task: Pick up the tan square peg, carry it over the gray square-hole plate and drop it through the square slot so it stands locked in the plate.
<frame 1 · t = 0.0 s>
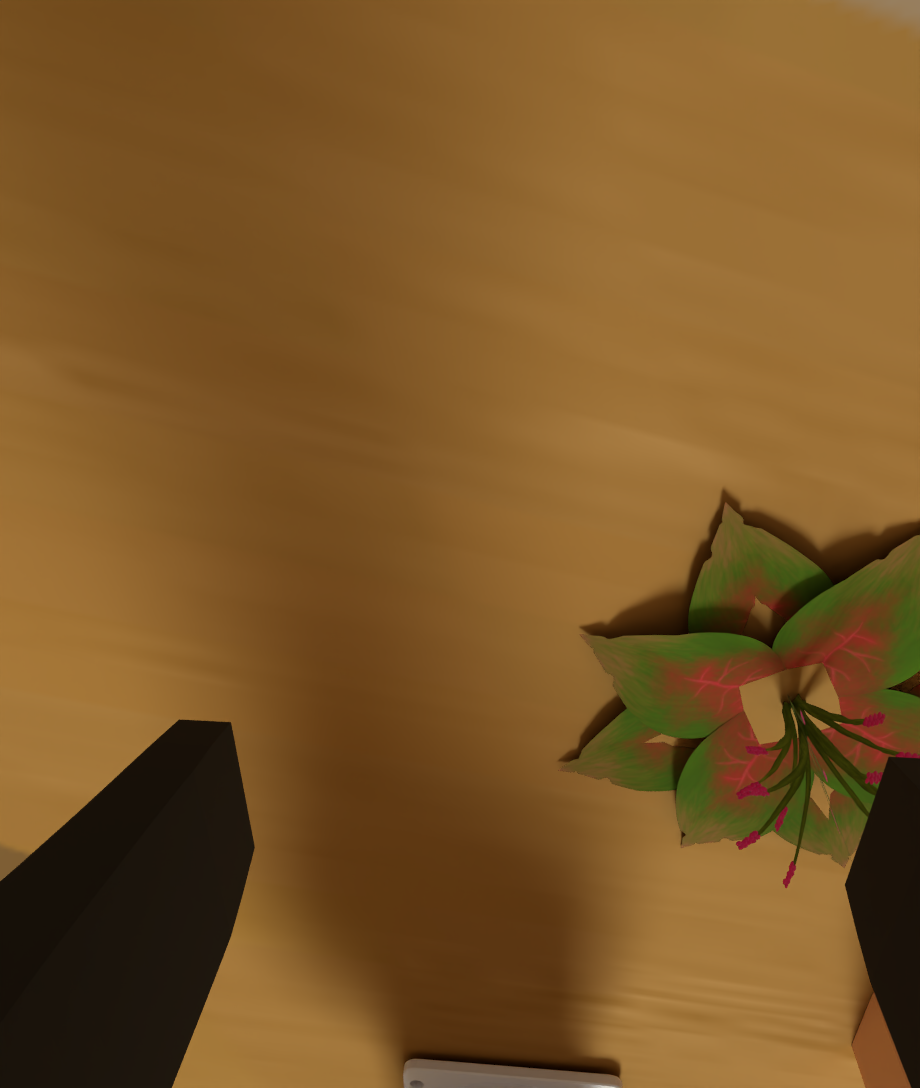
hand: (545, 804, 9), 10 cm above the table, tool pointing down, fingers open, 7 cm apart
lily flower: (783, 687, 21), on the table
tan square peg: (908, 1023, 27), on the table
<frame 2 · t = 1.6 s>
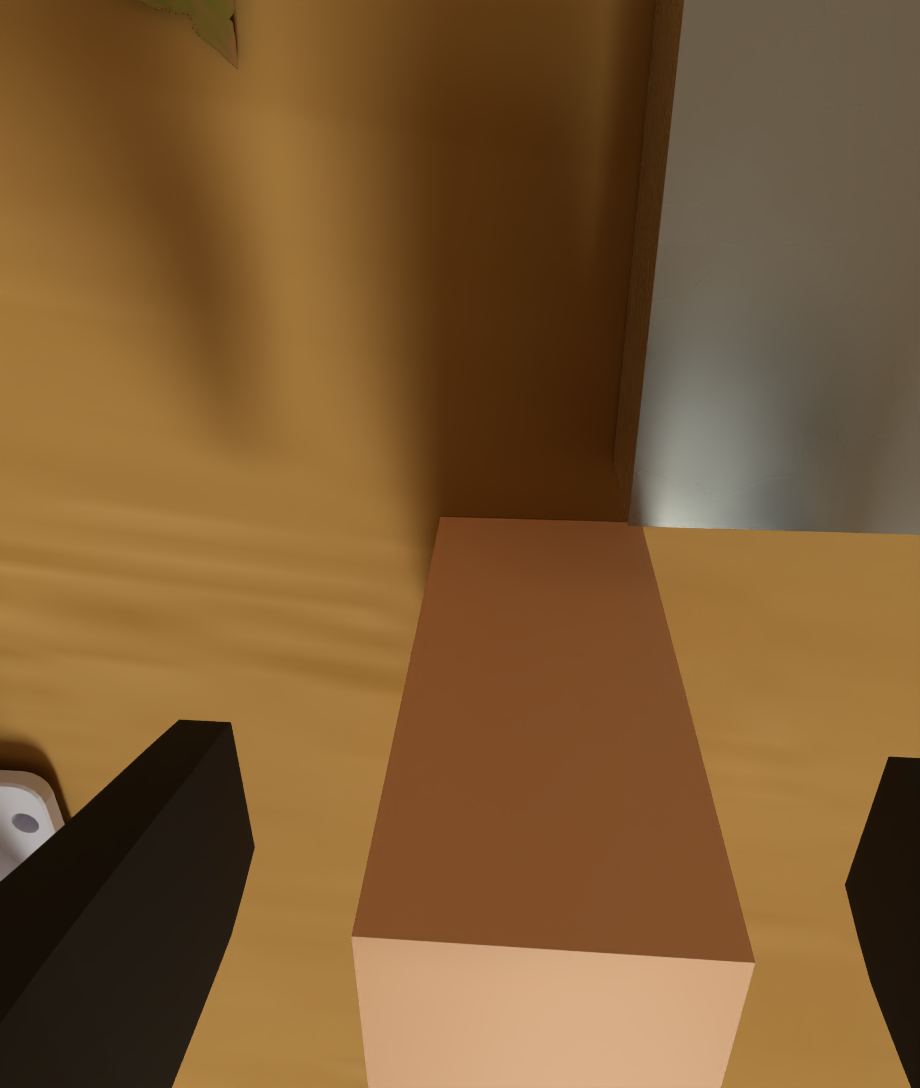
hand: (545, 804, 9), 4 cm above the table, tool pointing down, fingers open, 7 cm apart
tan square peg: (535, 603, 13), on the table
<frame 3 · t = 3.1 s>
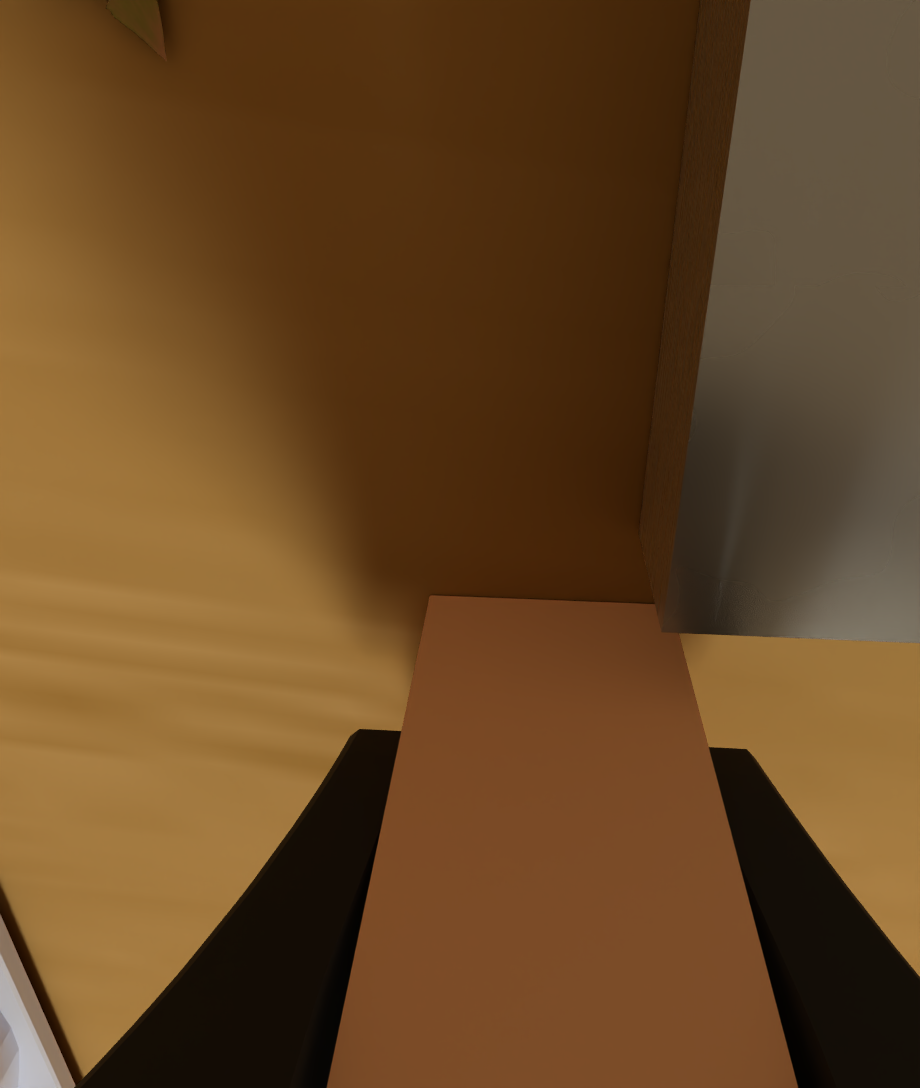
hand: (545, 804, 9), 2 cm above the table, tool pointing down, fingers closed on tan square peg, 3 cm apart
tan square peg: (543, 693, 11), on the table, touching gripper
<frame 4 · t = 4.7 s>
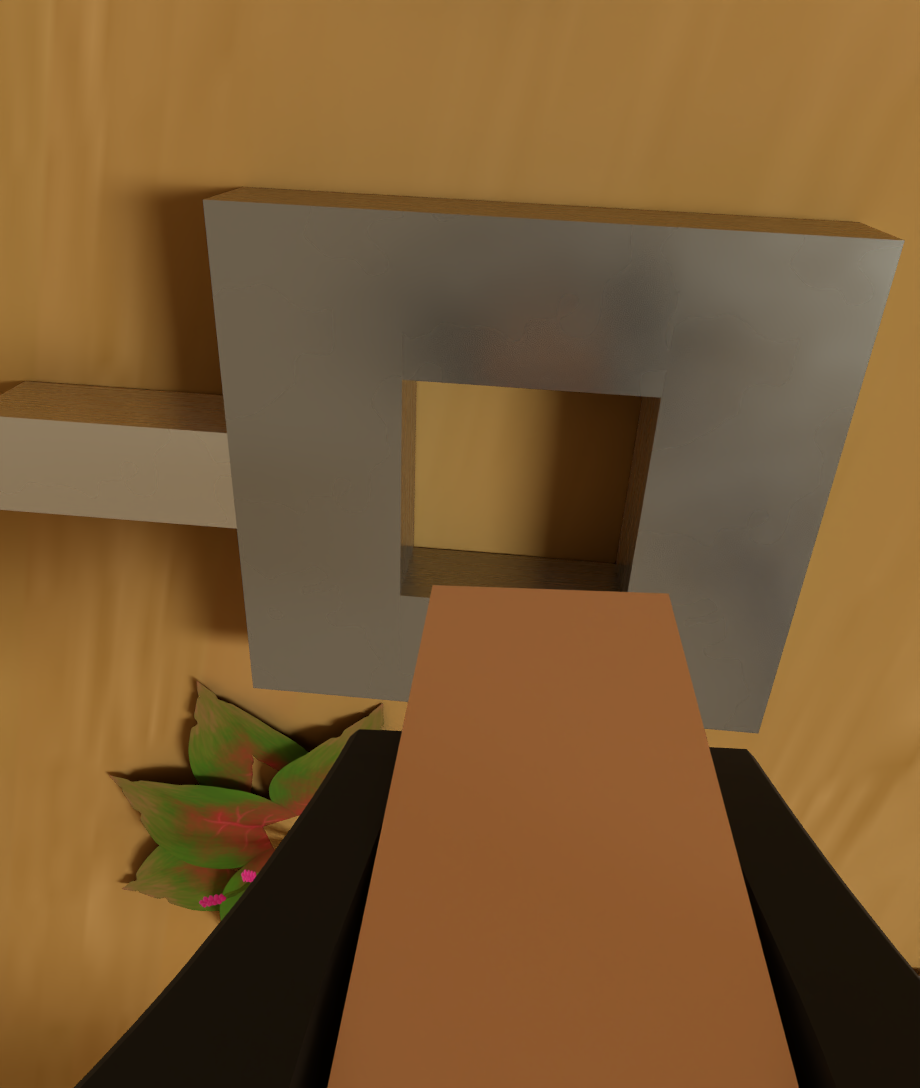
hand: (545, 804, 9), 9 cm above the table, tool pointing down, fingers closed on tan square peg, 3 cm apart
gray square-hole plate: (522, 462, 17), on the table
lily flower: (314, 824, 24), on the table
tan square peg: (544, 681, 11), point 7 cm above the table, touching gripper
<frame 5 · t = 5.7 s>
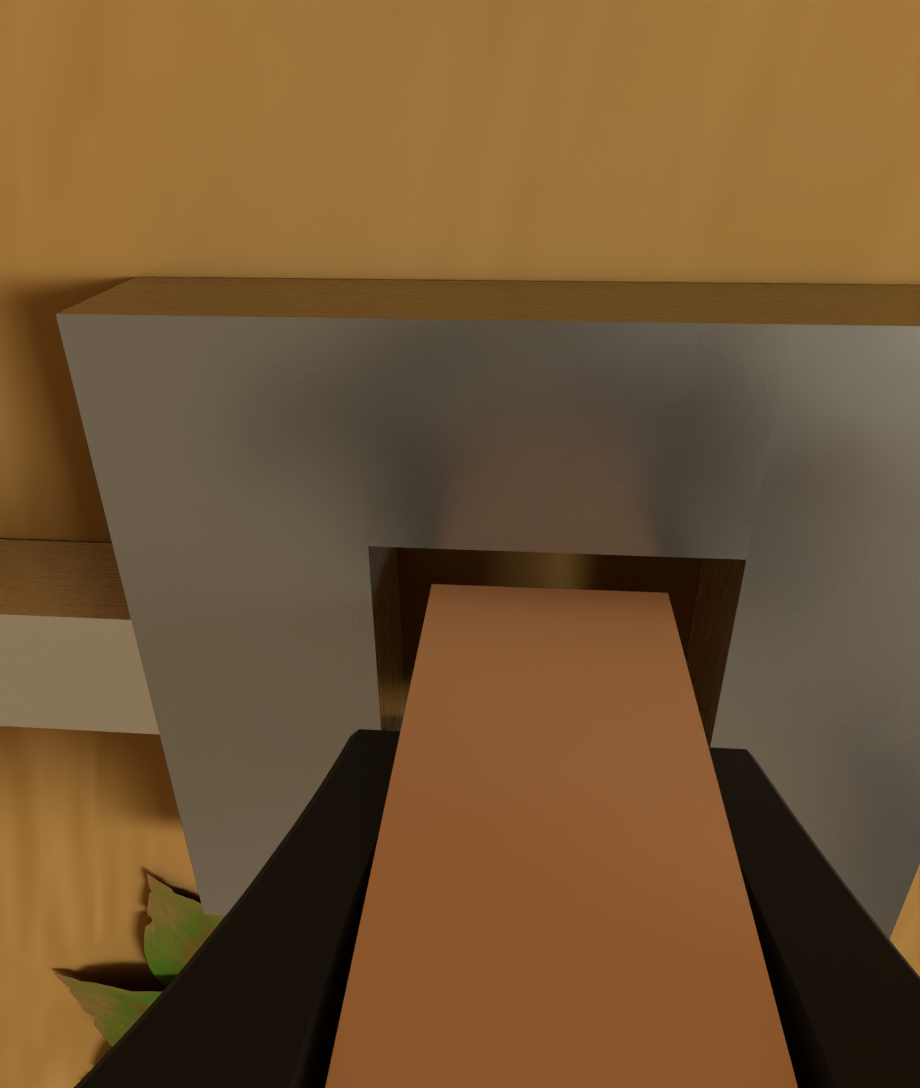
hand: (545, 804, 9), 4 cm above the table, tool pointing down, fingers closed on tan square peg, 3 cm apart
gray square-hole plate: (544, 614, 13), on the table
lily flower: (309, 1012, 20), on the table
tan square peg: (543, 681, 11), point 2 cm above the table, touching gripper
when the fingers open (3 cm above the table, at t = 6.6 s): tan square peg drops 1 cm, resting in gray square-hole plate.
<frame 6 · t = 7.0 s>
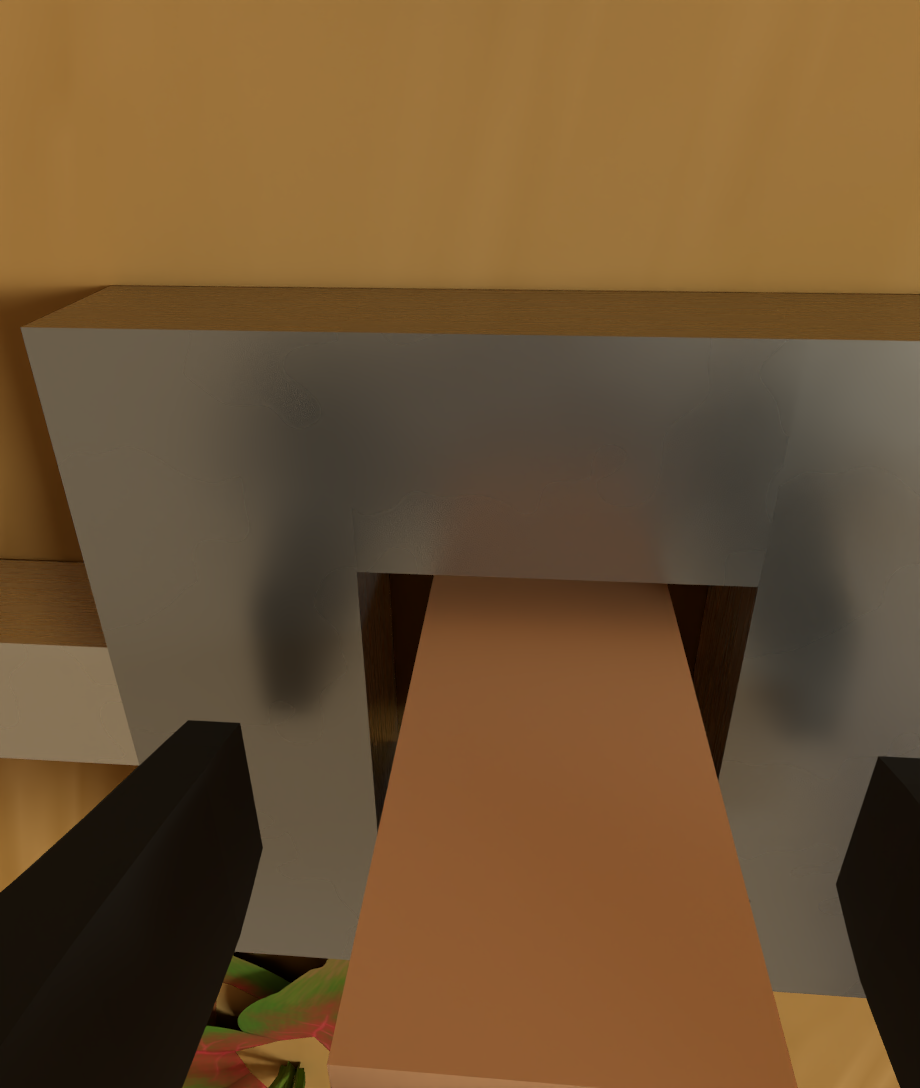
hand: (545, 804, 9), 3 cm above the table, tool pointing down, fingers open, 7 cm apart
gray square-hole plate: (543, 637, 12), on the table
lily flower: (303, 1038, 19), on the table
tan square peg: (544, 634, 12), resting in gray square-hole plate
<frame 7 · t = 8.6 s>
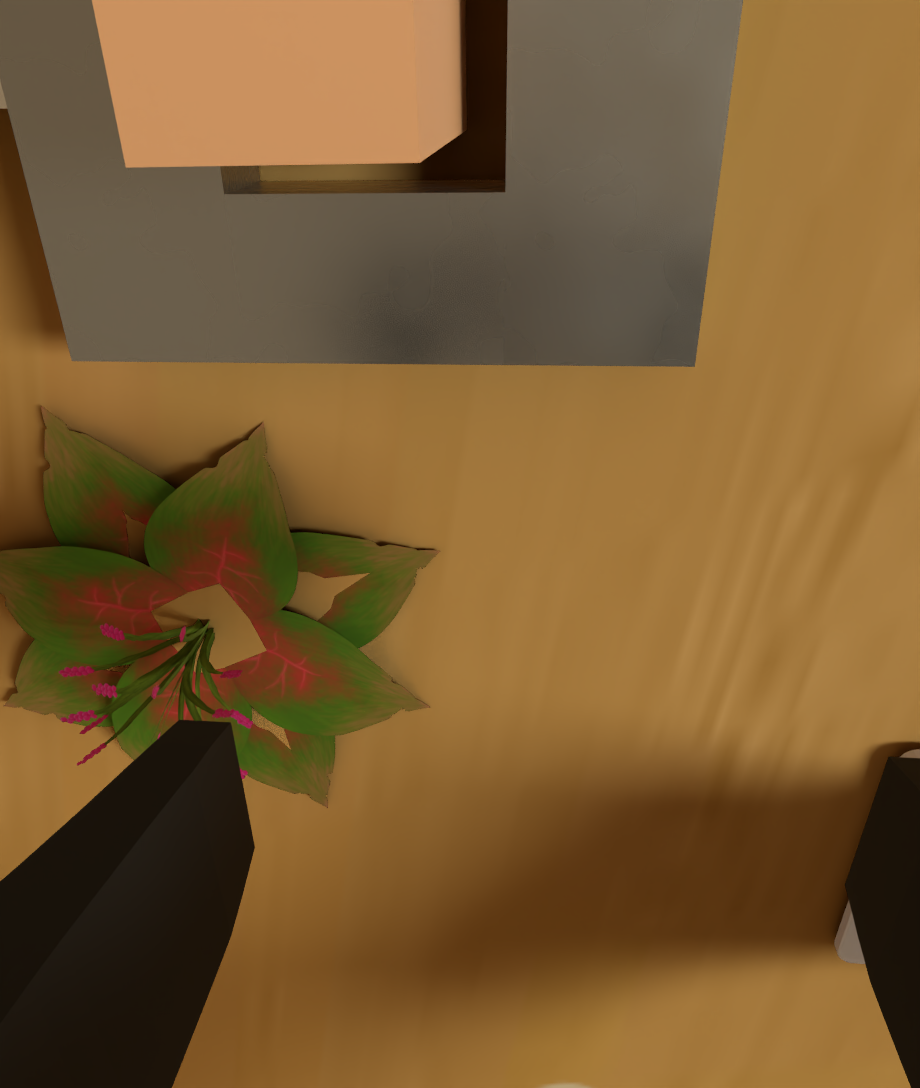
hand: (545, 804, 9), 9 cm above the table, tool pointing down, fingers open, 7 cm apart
gray square-hole plate: (374, 32, 13), on the table
lily flower: (215, 614, 21), on the table
tan square peg: (375, 29, 13), resting in gray square-hole plate
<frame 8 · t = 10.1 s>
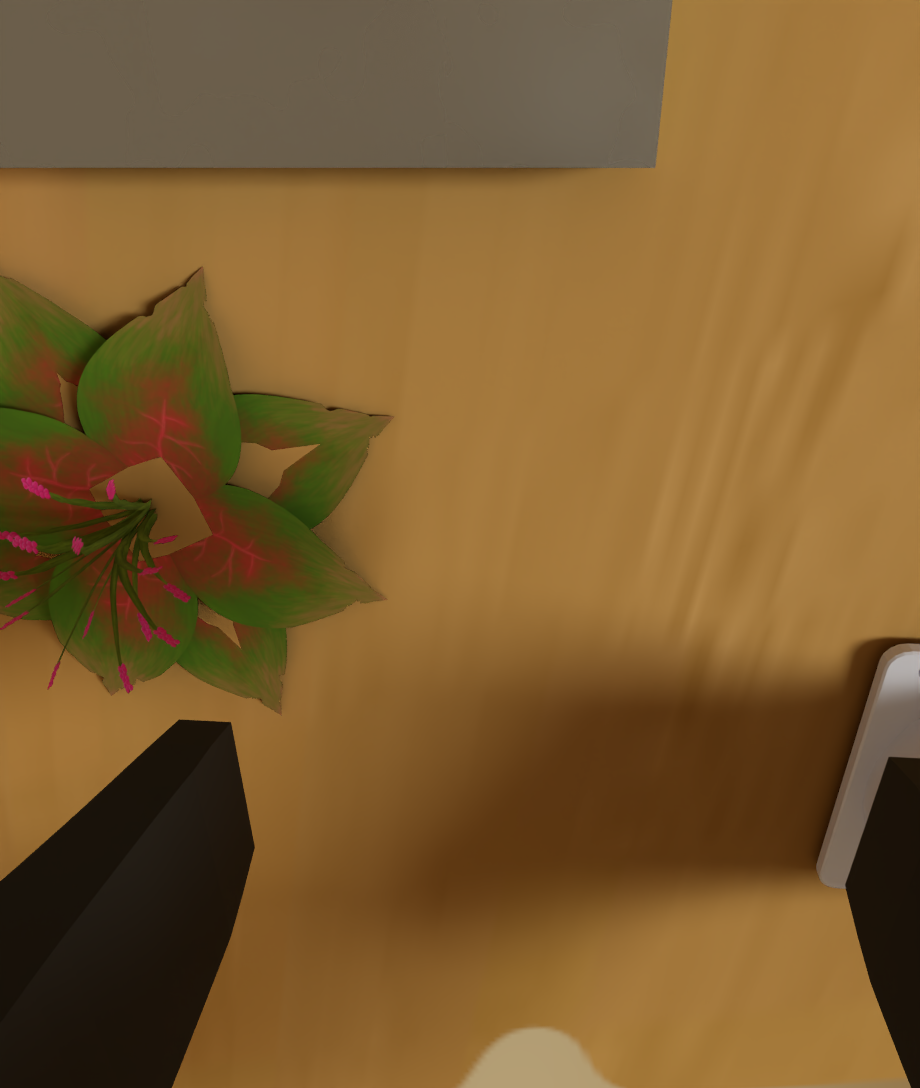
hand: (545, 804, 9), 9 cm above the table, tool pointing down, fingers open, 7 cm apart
lily flower: (160, 498, 19), on the table
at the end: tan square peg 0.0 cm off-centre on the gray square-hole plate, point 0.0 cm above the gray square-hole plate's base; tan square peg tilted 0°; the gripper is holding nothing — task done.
